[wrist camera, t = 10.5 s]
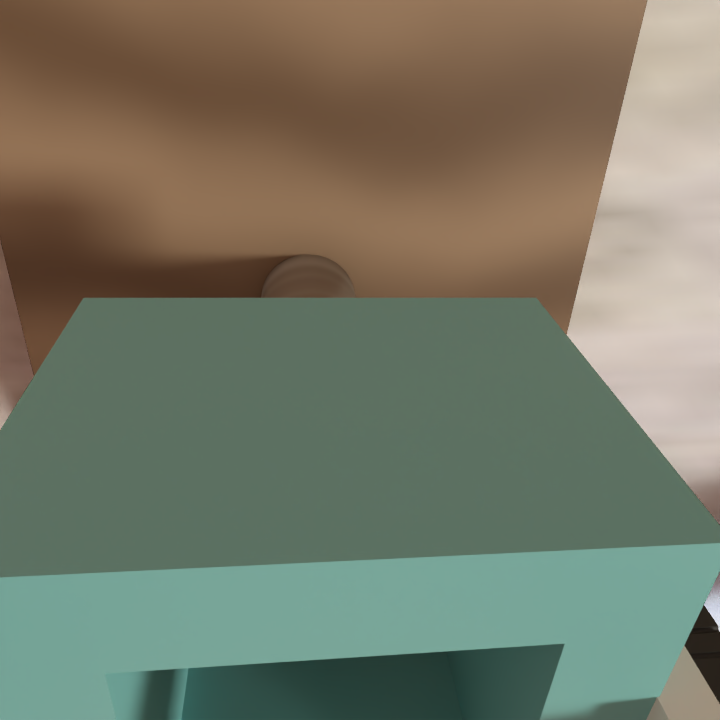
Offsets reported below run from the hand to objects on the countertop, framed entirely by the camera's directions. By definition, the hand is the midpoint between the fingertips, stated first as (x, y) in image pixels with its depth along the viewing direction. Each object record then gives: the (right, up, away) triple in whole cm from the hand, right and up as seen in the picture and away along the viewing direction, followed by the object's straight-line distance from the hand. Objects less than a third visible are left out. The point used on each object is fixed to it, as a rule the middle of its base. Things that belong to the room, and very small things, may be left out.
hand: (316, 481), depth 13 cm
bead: (0, 0, 0) cm, 0 cm away
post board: (-1, +5, +9) cm, 10 cm away
